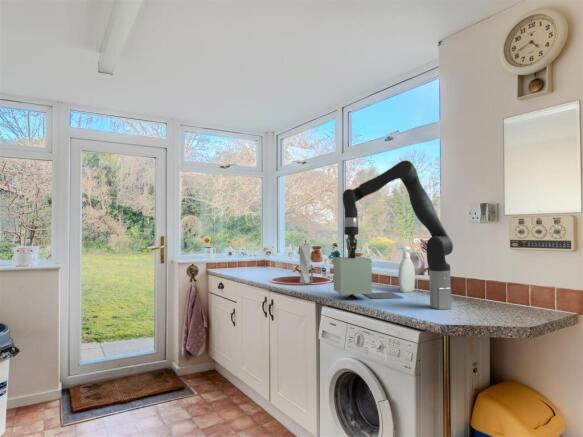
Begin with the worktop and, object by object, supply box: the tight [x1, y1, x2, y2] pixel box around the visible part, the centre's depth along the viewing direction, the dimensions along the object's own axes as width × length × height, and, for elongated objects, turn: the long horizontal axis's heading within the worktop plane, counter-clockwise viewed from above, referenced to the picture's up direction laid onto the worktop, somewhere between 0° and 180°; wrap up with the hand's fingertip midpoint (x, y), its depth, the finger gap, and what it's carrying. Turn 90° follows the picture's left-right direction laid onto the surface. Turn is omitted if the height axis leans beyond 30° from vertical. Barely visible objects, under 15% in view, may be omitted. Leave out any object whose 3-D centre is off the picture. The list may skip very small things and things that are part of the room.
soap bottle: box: [397, 245, 416, 294], centre depth 227 cm, size 14×8×27 cm, turn 130°
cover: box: [332, 249, 373, 295], centre depth 207 cm, size 17×17×23 cm
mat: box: [362, 291, 404, 300], centre depth 213 cm, size 17×17×1 cm
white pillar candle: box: [299, 242, 314, 285], centre depth 269 cm, size 8×8×28 cm
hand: (351, 257), depth 207 cm, fingers closed on cover, 4 cm apart
